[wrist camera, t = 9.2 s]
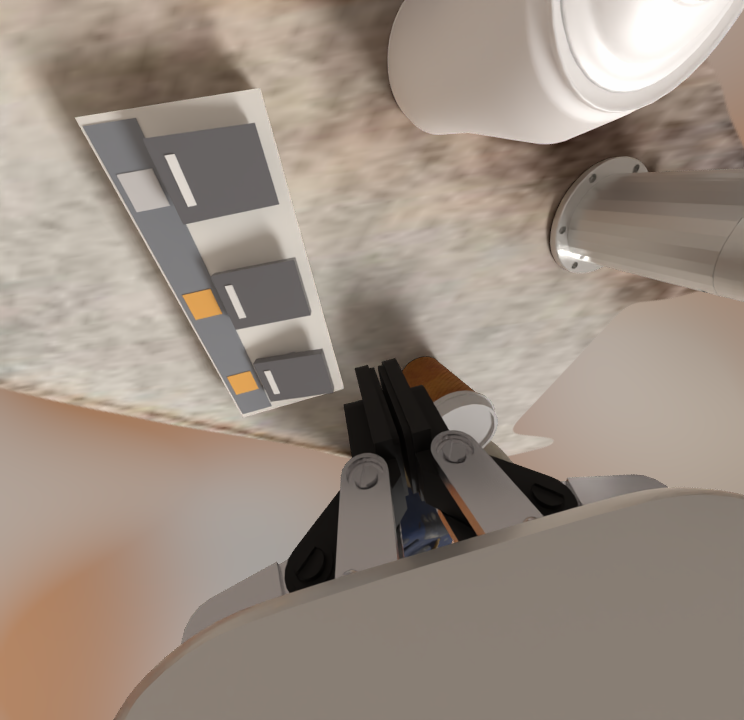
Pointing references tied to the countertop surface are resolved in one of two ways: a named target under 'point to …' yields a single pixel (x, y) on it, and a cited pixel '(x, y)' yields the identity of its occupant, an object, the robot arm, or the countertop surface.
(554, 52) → the white bottle
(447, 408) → the disposable coffee cup
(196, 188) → the plate
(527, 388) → the countertop surface
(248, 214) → the switch unit
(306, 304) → the rocker middle
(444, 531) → the canister
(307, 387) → the rocker
